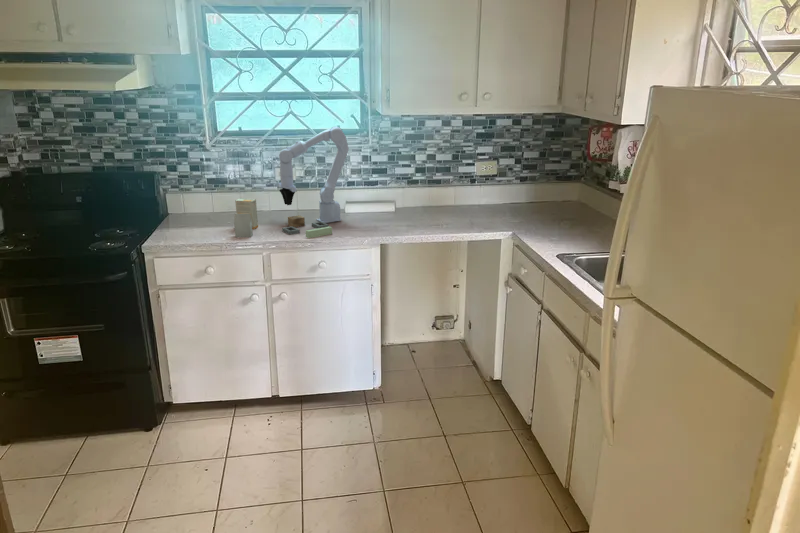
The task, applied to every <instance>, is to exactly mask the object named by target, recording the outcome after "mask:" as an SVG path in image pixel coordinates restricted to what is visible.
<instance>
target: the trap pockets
mask: <svg viewBox="0 0 800 533" xmlns="http://www.w3.org/2000/svg"><path fill="white" fill-rule="evenodd" d="M311 227H312V228H313V229H308V230H305V238H306V237H307V239H311V238H317V237H322V236H328V234H329V235H333V227H332V226H330V225H329V223H324V222H320V221H315V222H312V223H311ZM281 230H282V232H283V233H285V234H287V235H296V234H300V232H301V231H300V229H299V228H298V227H293V226H285V227H282V228H281Z"/></svg>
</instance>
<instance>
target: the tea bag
mask: <svg viewBox="0 0 800 533" xmlns="http://www.w3.org/2000/svg"><path fill="white" fill-rule="evenodd" d="M233 216H234V220H233V226H234V236H235V238H252V237H253V229H252V221H251V215H250V214H236V213H234V214H233Z"/></svg>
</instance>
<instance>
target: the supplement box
mask: <svg viewBox="0 0 800 533" xmlns="http://www.w3.org/2000/svg"><path fill="white" fill-rule="evenodd" d="M234 203H235V210H236V211H235V212H236V213H235V214H250V215H251V221H252V230H255V229H257V228H258V227H259V222H258V221H259V220H258V208H257V207H258V206H257V198H255V199H254V198H242V197H240V198H237V199H236V200H235V202H234Z"/></svg>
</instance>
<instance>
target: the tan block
mask: <svg viewBox="0 0 800 533" xmlns="http://www.w3.org/2000/svg"><path fill="white" fill-rule="evenodd" d="M287 225H288V227H291V226H293V227H295V228H298V226H299V227H304V225H305V226H306V224H305V216H302V215H293V216H288V217H287Z"/></svg>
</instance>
